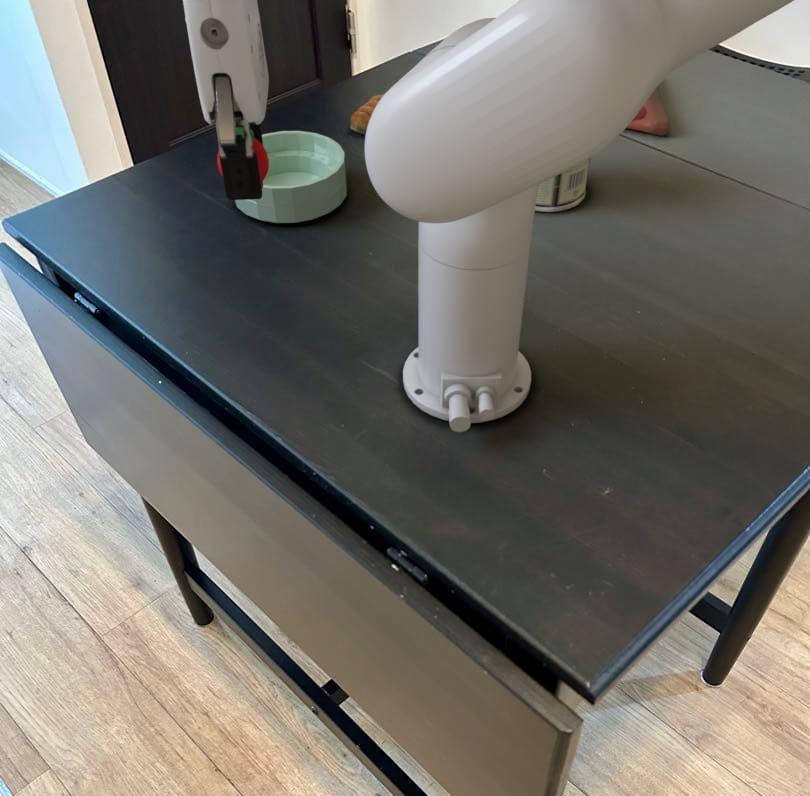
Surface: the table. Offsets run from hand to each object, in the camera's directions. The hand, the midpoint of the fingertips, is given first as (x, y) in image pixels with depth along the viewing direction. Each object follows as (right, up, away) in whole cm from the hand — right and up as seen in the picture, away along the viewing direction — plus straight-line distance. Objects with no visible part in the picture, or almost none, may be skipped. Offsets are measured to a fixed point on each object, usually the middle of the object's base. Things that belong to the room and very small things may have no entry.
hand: (246, 180), depth 77 cm
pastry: (+12, +25, +40) cm, 49 cm away
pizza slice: (+41, +29, +43) cm, 66 cm away
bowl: (0, +10, +28) cm, 30 cm away
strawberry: (0, 0, 0) cm, 1 cm away
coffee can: (+32, +11, +28) cm, 44 cm away
